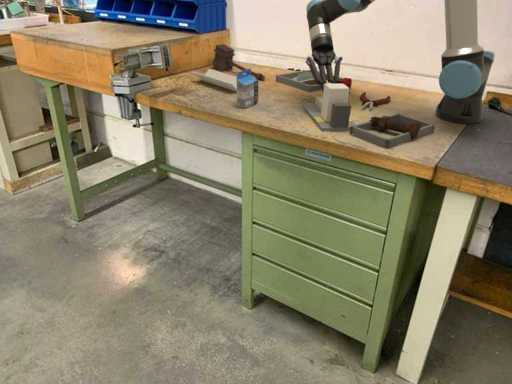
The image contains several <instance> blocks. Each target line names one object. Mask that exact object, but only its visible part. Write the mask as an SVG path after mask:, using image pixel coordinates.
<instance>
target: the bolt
mask: <svg viewBox="0 0 512 384" xmlns="http://www.w3.org/2000/svg"><path fill="white" fill-rule="evenodd" d="M369 119H370V120H369V121H371V122H372V126H373V127H377V128H378V129H379V131H380V132H386V131H392V132H396V133H400V134H404V133H407V132H408V133H410V135H411V139H412V140H411V141H413V140H416V139H417V138H416V137H417V136H418V131H419V130H420V122H419V121H414V122H412V124H410V123H404V122H399V121H394V120H390V118H389V115H383V116H381V117H380V116H379V117H378V116H372V117H370V118H369Z"/></svg>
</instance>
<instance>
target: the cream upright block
mask: <svg viewBox="0 0 512 384" xmlns="http://www.w3.org/2000/svg"><path fill="white" fill-rule="evenodd" d="M349 89H350V90H351V88H348V87H347V86H346V85H344V84H324V91H322V98H323V100H322V109H321V117H322V118H323V119H324V120H325V121H326V122H330V120H331V112H332V104H333V103H349V95H350V94H349Z"/></svg>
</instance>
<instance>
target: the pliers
mask: <svg viewBox="0 0 512 384" xmlns="http://www.w3.org/2000/svg"><path fill="white" fill-rule="evenodd" d="M366 95H367V92H365V91H363V92H362V93H361V94H360V96H359V99H360V101H361V102H362V104H361V105H362V107H361V110H363V111H364V110H366V109H368V108H369V112H370V111H372V109H373V108H378V107H379V106H383V105H386V104H387V105H388V104H390V101H391V100H392V99H391V96H390V95H386V97H384V98H378V99H374V100H371V99H369V98H368V97H367V96H366Z"/></svg>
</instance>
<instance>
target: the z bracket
mask: <svg viewBox="0 0 512 384" xmlns="http://www.w3.org/2000/svg"><path fill="white" fill-rule="evenodd" d="M193 74H194V75H195V76H196V77H197V78H198V79H199V80H200V81H202V82H205V83H208V84H211V85H214V86H218V87H221V88H223V89H226V90H229V91H232V92H235V93H237V76H235V75H231V74H228V73H225V72H223V71H219V70H218V71H217V70H215V69H211V68H208V69H207V71H206V73H200V72H197V71H193Z"/></svg>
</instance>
